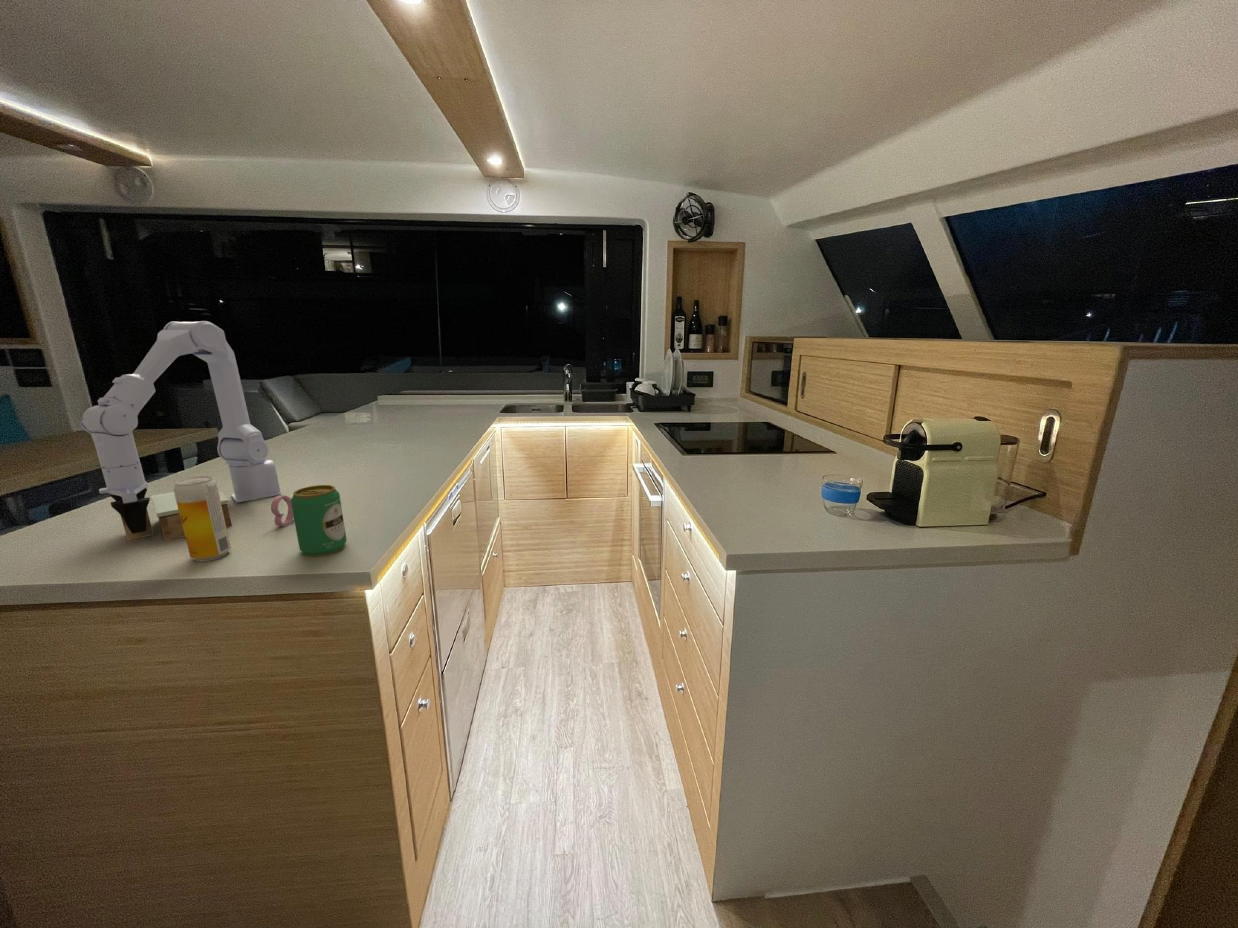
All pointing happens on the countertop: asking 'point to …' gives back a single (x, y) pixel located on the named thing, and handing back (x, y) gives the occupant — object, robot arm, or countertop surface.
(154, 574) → the countertop surface
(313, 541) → the beverage can
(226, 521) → the wooden box
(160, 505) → the lid
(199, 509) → the beer can
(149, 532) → the oak key block
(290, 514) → the decorative key
